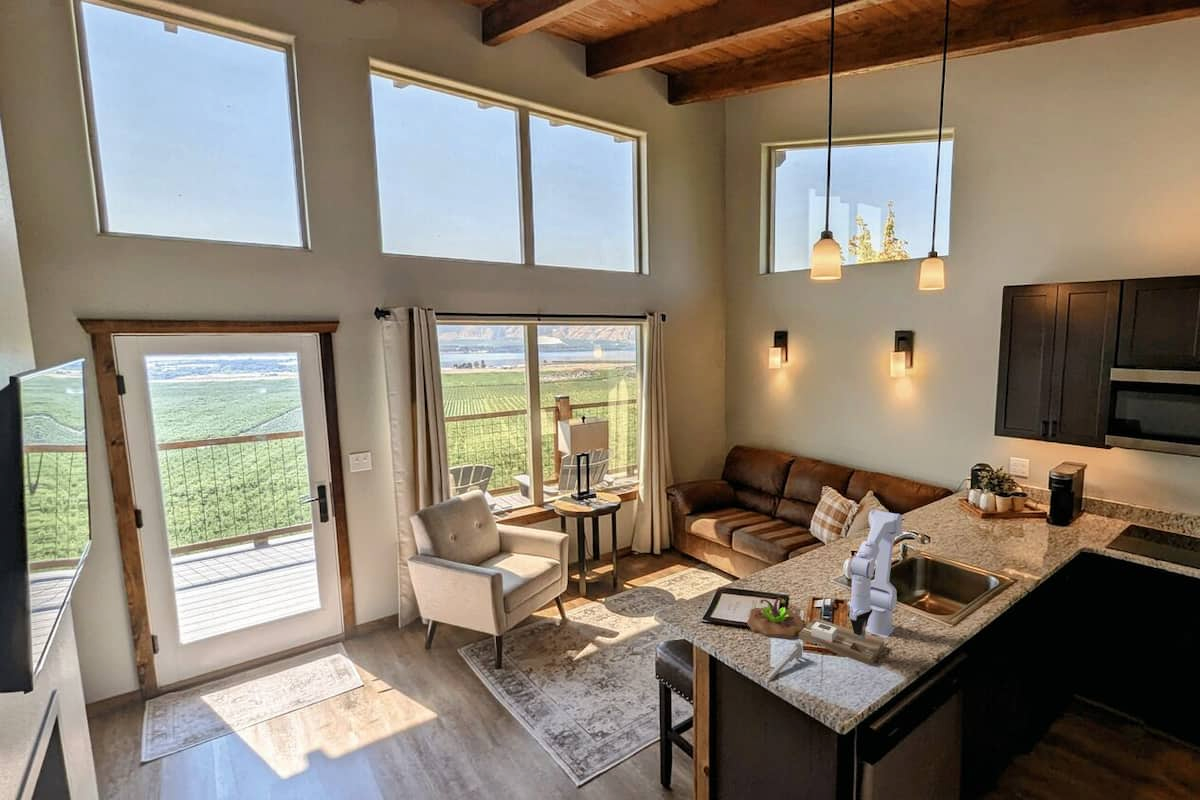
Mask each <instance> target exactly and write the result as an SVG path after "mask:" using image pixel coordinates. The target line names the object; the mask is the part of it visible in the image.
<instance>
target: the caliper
mask: <svg viewBox="0 0 1200 800" xmlns="http://www.w3.org/2000/svg"><path fill="white" fill-rule="evenodd" d="M794 644H795V646H794V647H793V648H792V649H791V650H789V652H788V653H787V655H786V656H785V657H784V658H783V659H782V660H781V661H780V662H779V663H778V665H776V666H775V667H774V668H773V669H772V670H770V673H768V674H767V675H766V678H765V679H764V683H769V681H772V680H773V679H774V678H775V677H776V676H777V675H778V674H779V673H780V672H781V670H783V668H785V667H786V665H787V664H788V663H791V662H793V661H794V660H796V661H800V659H802V657H803V645H802V643H801V642H800V641H798V640H797V641H796V642H795V643H794Z"/></svg>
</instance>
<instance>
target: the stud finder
mask: <svg viewBox="0 0 1200 800" xmlns="http://www.w3.org/2000/svg"><path fill="white" fill-rule="evenodd" d="M811 636H814V637H817V638H820V639H823V640H826V641H829V642H832V641H833V640H834V639H835V638H836V636H837V628H835V627H832V626H829V625H826V624H823V623H819V622H816V623H815V624H814V625H813V626H812V627H811Z"/></svg>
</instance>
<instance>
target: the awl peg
mask: <svg viewBox="0 0 1200 800" xmlns="http://www.w3.org/2000/svg"><path fill="white" fill-rule="evenodd" d="M865 625H866V620H865V622H864V625H863V630H862V634H861V635H857V634H854V636H855V637H856V638H858V639H864V638H865V634H866V631H865V630H866V629H865ZM866 626H867V625H866Z"/></svg>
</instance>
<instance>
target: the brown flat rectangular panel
mask: <svg viewBox="0 0 1200 800" xmlns="http://www.w3.org/2000/svg"><path fill="white" fill-rule="evenodd" d="M816 622H819V623H823V624H826V625H829V626H832V627H835V628H837V636H836V638H835V639H834V640H833V641H832V642H829V641H826V640H823V639H820V638H817V637H814V636H811V627H812V626H813V625H814V624H815V623H816ZM798 640H801V641H803V642H806V643H808V642H809V644H811V643H813V644H812V645H814V644H817V645H820V646H823V647H825V648H827V649H829V650H828V651H830V650H831V651H830V652H832V651H833V652H832V653H835V654H838V655H840V656H843V657H846V658H849V659H851V660H854V661H857V662H860V663H863V664H864V665H867V666H872V664H873V663H874V662H875V661H876V660H877V658H878V657H879V655H880V654H881V652H882V651H883V650H884V649H885V640H884V639H880V638H877V637H875V636H871V635H869V634H866V633H865V638H864V639H858V638H856V637H855V636H854V631H853V629H851V628H848V627H844V626H841V625H838V624H836V623H832V622H829V621H827V620H823V619H821V618H817V617H813V619H812V620H811V621H810V622H808V623H807V624H806V625H804V628H803V629H802V630H801V631H800V632H799V636H798ZM827 649H826V650H827Z"/></svg>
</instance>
